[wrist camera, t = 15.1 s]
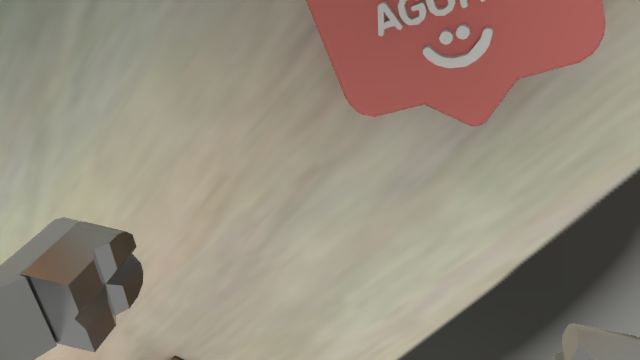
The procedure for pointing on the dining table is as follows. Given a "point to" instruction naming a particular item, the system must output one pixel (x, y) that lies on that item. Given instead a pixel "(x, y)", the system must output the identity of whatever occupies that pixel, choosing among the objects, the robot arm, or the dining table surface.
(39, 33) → the dining table surface
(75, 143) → the dining table surface
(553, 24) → the plaque
